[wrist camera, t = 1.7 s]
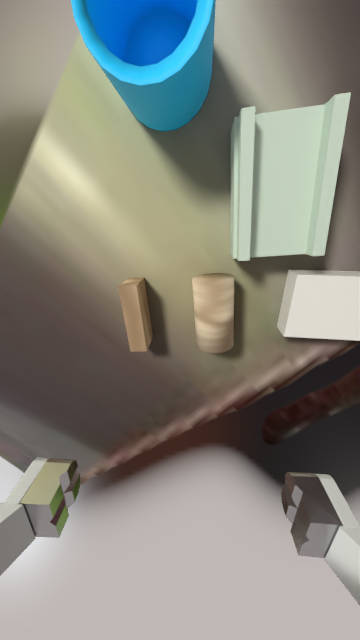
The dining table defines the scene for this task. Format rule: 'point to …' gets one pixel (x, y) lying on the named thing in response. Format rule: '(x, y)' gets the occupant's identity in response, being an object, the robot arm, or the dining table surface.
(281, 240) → the cradle
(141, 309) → the wooden brick
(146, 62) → the mug
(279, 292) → the dining table surface
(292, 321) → the slab
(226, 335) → the roller
